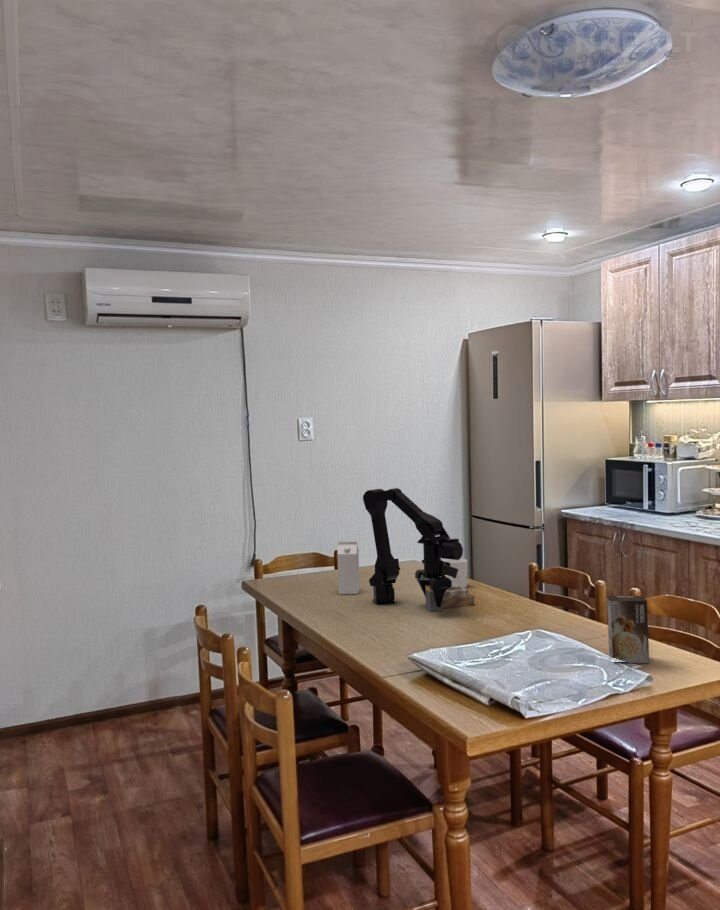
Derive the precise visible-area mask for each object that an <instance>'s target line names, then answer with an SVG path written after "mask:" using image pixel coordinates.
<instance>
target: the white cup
mask: <svg viewBox="0 0 720 910" xmlns="http://www.w3.org/2000/svg"><path fill="white" fill-rule="evenodd" d="M445 560H446V561H445V562H449V563H450V566H452V567H454V568H457V569H458V573H457V576H456V578H453V577H451V576H448V575H447V578H449V579H450V580H451V581H452V586H459V585H460V586H462V587H464V588H466V589H467V586H468V582H467V580H468V559H465V558H460V559H459V560H452V559H445Z"/></svg>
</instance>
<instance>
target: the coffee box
mask: <svg viewBox="0 0 720 910" xmlns="http://www.w3.org/2000/svg"><path fill="white" fill-rule="evenodd" d="M606 601H607V602H606V603H607V607H606V608H607V631H608V632H607V635H608V636H607V637H608V638H607V639H608V656H609V657H610V656H611V657H612V658H616V659H619V660H622V661H625V662H628V663H627V664H650V646H649V645H650V644H649V622H648V621H649V618H648V617H649V616H648V600H647V599H646V597H644V596H643V595H624V594H623V595H622V594H618V595H616V594H615V595H610V594H609V595H606Z"/></svg>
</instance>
